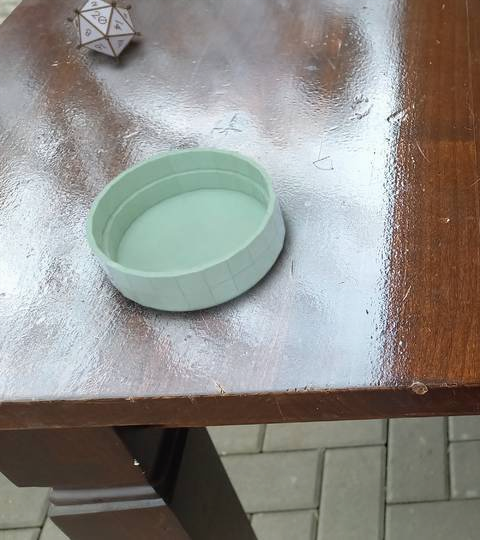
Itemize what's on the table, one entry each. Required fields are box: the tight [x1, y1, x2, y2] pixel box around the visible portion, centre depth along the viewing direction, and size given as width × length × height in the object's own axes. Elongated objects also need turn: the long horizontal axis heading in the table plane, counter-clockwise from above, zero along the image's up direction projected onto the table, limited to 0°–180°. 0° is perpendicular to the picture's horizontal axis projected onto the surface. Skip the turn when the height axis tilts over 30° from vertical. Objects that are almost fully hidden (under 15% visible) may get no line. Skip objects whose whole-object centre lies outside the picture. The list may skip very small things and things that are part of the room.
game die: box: [65, 0, 143, 64], centre depth 94 cm, size 9×8×10 cm
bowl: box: [84, 147, 286, 312], centre depth 72 cm, size 18×18×6 cm
